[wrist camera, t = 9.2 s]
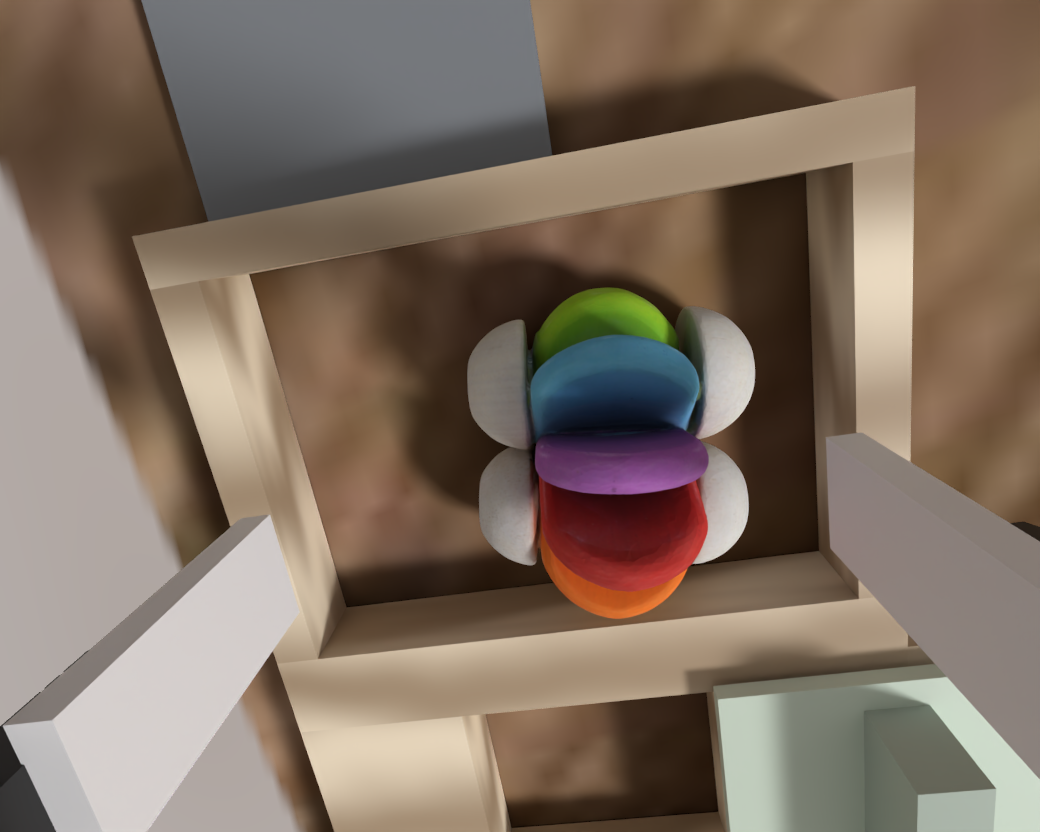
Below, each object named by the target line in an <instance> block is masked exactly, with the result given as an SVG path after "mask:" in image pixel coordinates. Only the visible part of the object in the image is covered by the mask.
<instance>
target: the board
mask: <svg viewBox="0 0 1040 832" xmlns="http://www.w3.org/2000/svg"><path fill="white" fill-rule="evenodd" d="M914 142H915V86H913V87H907V88H902V89H897V90H892V91H887V92H881V93H876V94H871V95H866V96H861V97H855V98H850V99H845V100H840V101H835V102H829V103H824V104H819V105H814V106H809V107H803V108H798V109H793V110H788V111H783V112H777V113H772V114H767V115H762V116H757V117H751V118H746V119H741V120H736V121H730V122H725V123H720V124H715V125H710V126H704V127H699V128H694V129H689V130H684V131H678V132H673V133H668V134H663V135H658V136H652V137H647V138H642V139H637V140H632V141H626V142H621V143H616V144H611V145H606V146H600V147H595V148H590V149H585V150H580V151H574V152H569V153H564V154H559V155H553V156H548V157H543V158H538V159H533V160H527V161H522V162H517V163H512V164H507V165H501V166H496V167H491V168H486V169H481V170H475V171H470V172H465V173H460V174H455V175H449V176H444V177H439V178H434V179H429V180H423V181H418V182H413V183H408V184H403V185H397V186H392V187H387V188H382V189H376V190H371V191H366V192H361V193H356V194H350V195H345V196H340V197H335V198H330V199H324V200H319V201H314V202H309V203H304V204H298V205H293V206H288V207H283V208H278V209H272V210H267V211H262V212H257V213H252V214H246V215H241V216H236V217H231V218H226V219H220V220H215V221H210V222H205V223H199V224H194V225H189V226H184V227H179V228H173V229H168V230H163V231H158V232H153V233H147V234H142V235H137V236H132V239H133V242H134V245H135V248H136V251H137V253H138V256H139V259H140V262H141V265H142V268H143V271H144V274H145V277H146V280H147V283H148V286H149V289H150V292H151V295H152V298H153V300H154V303H155V306H156V309H157V312H158V315H159V318H160V321H161V324H162V327H163V330H164V333H165V336H166V339H167V342H168V345H169V347H170V350H171V353H172V356H173V359H174V362H175V365H176V368H177V371H178V374H179V377H180V380H181V383H182V386H183V389H184V391H185V394H186V397H187V400H188V403H189V406H190V409H191V412H192V415H193V418H194V421H195V424H196V427H197V430H198V433H199V436H200V438H201V441H202V444H203V447H204V450H205V453H206V456H207V459H208V462H209V465H210V468H211V471H212V474H213V477H214V480H215V483H216V485H217V488H218V491H219V494H220V497H221V500H222V503H223V506H224V509H225V512H226V515H227V518H228V521H229V524H230V527H231V526H232V525H234V524H235V523H236V522H237V521H238V520H239V519H241V518H247V517H255V516H262V515H269V514H270V516H271V519H272V523H273V526H274V529H275V532H276V536H277V539H278V542H279V546H280V549H281V552H282V555H283V559H284V562H285V565H286V569H287V572H288V575H289V578H290V582H291V585H292V588H293V592H294V595H295V598H296V601H297V605H298V608H299V611H300V612H299V614H298V615H297V617H296V618H295V620H294V621H293V623H292V624H291V625H290V627H289V628H288V630H287V631H286V633H285V634H284V635H283V637H282V638H281V640H280V641H279V643H278V644H277V646H276V647H275V648H274V650H273V653H274V656H275V659H276V662H277V665H278V668H279V671H280V673H281V676H282V679H283V682H284V685H285V688H286V691H287V694H288V697H289V700H290V703H291V706H292V709H293V712H294V715H295V718H296V720H297V723H298V726H299V729H300V732H301V735H302V738H303V741H304V744H305V747H306V750H307V753H308V756H309V759H310V762H311V765H312V767H313V770H314V773H315V776H316V779H317V782H318V785H319V788H320V791H321V794H322V797H323V800H324V803H325V806H326V809H327V812H328V814H329V817H330V820H331V823H332V826H333V829H334V832H727V824H726V814H725V803H724V793H723V783H722V772H721V762H720V752H719V742H718V731H717V721H716V711H715V700H714V690H713V686H718V685H728V684H738V683H748V682H758V681H768V680H778V679H788V678H799V677H809V676H819V675H829V674H839V673H849V672H859V671H869V670H879V669H889V668H899V667H909V666H919V665H929V664H935V663H934V662H933V661H932V660H931V659H930V658H929V657H928V656H927V654H926V653H925V652H924V651H923V650H922V649H921V648H920V647H919V646H918V645H917V643H916V642H915V641H914V640H913V639H912V638H911V637H910V636H909V635H908V633H907V632H906V631H905V630H904V629H903V628H902V627H901V626H900V625H899V624H898V622H897V621H896V620H895V619H894V618H893V617H892V616H891V615H890V614H889V612H888V611H887V610H886V609H885V608H884V607H883V606H882V605H881V604H880V603H879V601H878V600H877V599H876V598H875V597H874V596H873V595H872V594H871V593H870V591H869V590H868V589H867V588H866V587H865V586H864V585H863V584H862V583H861V582H860V580H859V579H858V578H857V577H856V576H855V575H854V574H853V573H852V572H851V570H850V569H849V568H848V567H847V566H846V565H845V564H844V563H843V562H842V561H841V559H840V558H839V557H838V556H837V555H836V554H835V553H834V552H833V551H832V549H831V548H830V532H829V506H828V479H827V453H826V437H832V436H839V435H846V434H853V433H861V432H862V433H864V434H865V435H867V436H868V437H870V438H872V439H873V440H875V441H877V442H878V443H880V444H882V445H883V446H885V447H886V448H888V449H890V450H891V451H893V452H895V453H896V454H898V455H899V456H901V457H903V458H904V459H906V460H908V461H909V462H910V445H911V369H912V293H913V217H914ZM803 173H806V186H807V215H808V245H809V274H810V303H811V332H812V361H813V390H814V419H815V448H816V478H817V507H818V536H819V551H815V552H806V553H798V554H790V555H781V556H773V557H765V558H756V559H748V560H740V561H731V562H723V563H715V564H706V565H698V566H690V567H688V568H687V571H686V573H685V575H684V577H683V579H682V581H681V582H680V584H679V585H678V587H677V588H676V589H675V590H674V592H673V593H672V594H671V595H670V596H669V597H668V598H667V599H666V600H665V601H663V602H662V603H661V604H659V605H658V606H656V607H655V608H653V609H651V610H649V611H647V612H645V613H643V614H639V615H636V616H633V617H628V618H622V619H613V618H606V617H602V616H599V615H596V614H593V613H591V612H589V611H586V610H585V609H583V608H581V607H579V606H577V605H576V604H574V603H573V602H571V601H570V600H569V599H568V598H567V597H566V596H565V595H564V594H563V593H562V592H561V591H560V590H559V589H558V588H557V586H556V585H555V584H554V583H548V584H539V585H531V586H523V587H514V588H506V589H498V590H489V591H481V592H473V593H464V594H456V595H448V596H439V597H431V598H422V599H414V600H406V601H397V602H389V603H381V604H372V605H364V606H356V607H346V604H345V601H344V597H343V594H342V590H341V587H340V584H339V580H338V577H337V573H336V570H335V566H334V563H333V560H332V556H331V553H330V549H329V546H328V542H327V539H326V536H325V532H324V529H323V525H322V522H321V519H320V515H319V512H318V508H317V505H316V501H315V498H314V495H313V491H312V488H311V484H310V481H309V477H308V474H307V471H306V467H305V464H304V460H303V457H302V454H301V450H300V447H299V443H298V440H297V436H296V433H295V430H294V426H293V423H292V419H291V416H290V412H289V409H288V406H287V402H286V399H285V395H284V392H283V389H282V385H281V382H280V378H279V375H278V371H277V368H276V365H275V361H274V358H273V354H272V351H271V348H270V344H269V341H268V337H267V334H266V330H265V327H264V324H263V320H262V317H261V313H260V310H259V306H258V303H257V300H256V296H255V293H254V289H253V286H252V283H251V279H250V276H249V274H252V273H257V272H263V271H269V270H274V269H280V268H285V267H291V266H296V265H302V264H307V263H313V262H318V261H324V260H329V259H335V258H340V257H346V256H351V255H357V254H362V253H368V252H373V251H379V250H384V249H390V248H395V247H401V246H406V245H412V244H417V243H423V242H428V241H434V240H439V239H445V238H450V237H456V236H461V235H467V234H472V233H478V232H484V231H489V230H495V229H500V228H506V227H511V226H517V225H522V224H528V223H533V222H539V221H544V220H550V219H555V218H561V217H566V216H572V215H577V214H583V213H588V212H594V211H599V210H605V209H610V208H616V207H621V206H627V205H632V204H638V203H643V202H649V201H654V200H660V199H665V198H671V197H676V196H682V195H687V194H693V193H699V192H704V191H710V190H715V189H721V188H726V187H732V186H737V185H743V184H748V183H754V182H759V181H765V180H770V179H776V178H781V177H787V176H792V175H798V174H803ZM704 692H707V702H708V712H709V722H710V732H711V742H712V752H713V761H714V771H715V781H716V791H717V801H718V811H719V812H709V813H697V814H684V815H671V816H659V817H646V818H633V819H621V820H608V821H595V822H583V823H570V824H557V825H545V826H532V827H519V828H511V823H510V819H509V815H508V810H507V806H506V802H505V797H504V793H503V789H502V784H501V780H500V776H499V771H498V767H497V763H496V758H495V754H494V750H493V745H492V741H491V737H490V732H489V728H488V724H487V719H486V715H485V714H492V713H502V712H512V711H522V710H532V709H542V708H552V707H562V706H573V705H583V704H593V703H603V702H613V701H623V700H633V699H643V698H654V697H664V696H674V695H684V694H694V693H704Z"/></svg>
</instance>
